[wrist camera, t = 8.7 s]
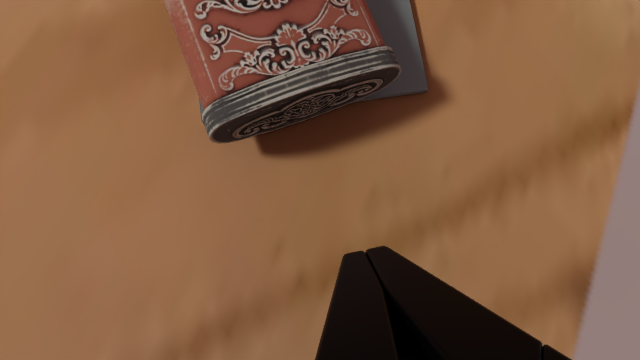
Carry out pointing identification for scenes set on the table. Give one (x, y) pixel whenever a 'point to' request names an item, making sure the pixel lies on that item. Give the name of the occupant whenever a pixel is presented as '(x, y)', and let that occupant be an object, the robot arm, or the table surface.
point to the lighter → (278, 60)
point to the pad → (396, 48)
